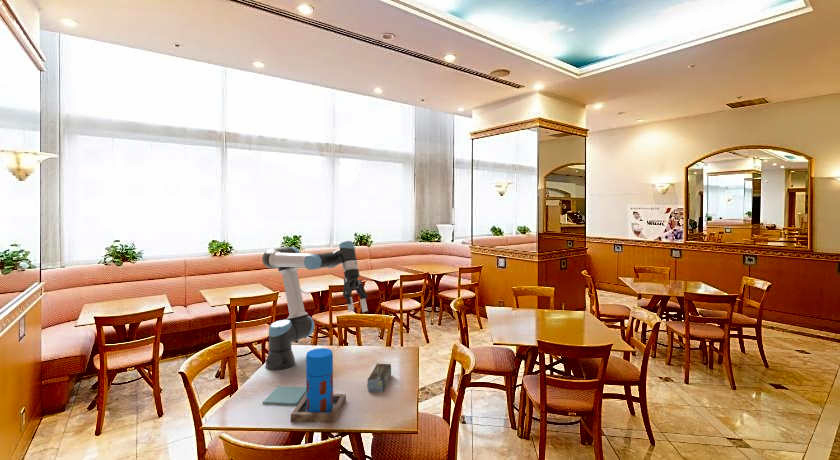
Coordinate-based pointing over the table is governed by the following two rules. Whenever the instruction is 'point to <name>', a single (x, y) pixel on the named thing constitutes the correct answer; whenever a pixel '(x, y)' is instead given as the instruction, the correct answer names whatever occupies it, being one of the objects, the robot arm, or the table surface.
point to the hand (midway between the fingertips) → (358, 311)
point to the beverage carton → (379, 378)
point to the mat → (285, 395)
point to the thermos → (319, 380)
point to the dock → (318, 417)
